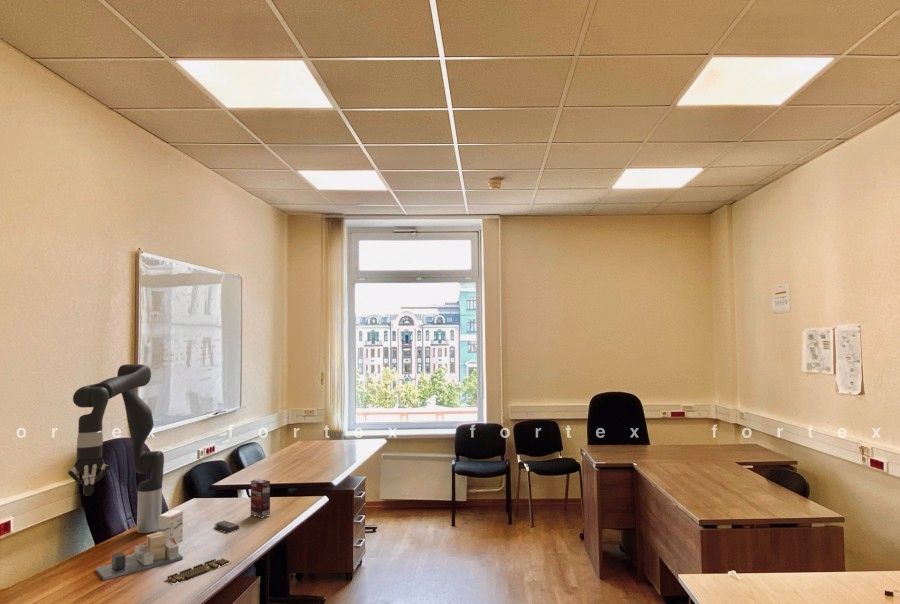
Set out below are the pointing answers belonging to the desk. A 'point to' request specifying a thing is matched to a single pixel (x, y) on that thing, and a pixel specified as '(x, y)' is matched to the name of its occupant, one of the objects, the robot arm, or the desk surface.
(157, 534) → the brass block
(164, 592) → the desk surface
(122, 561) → the free jaw
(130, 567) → the vise base
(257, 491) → the supplement box
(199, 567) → the keyboard
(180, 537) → the ink box
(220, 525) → the usb drive
